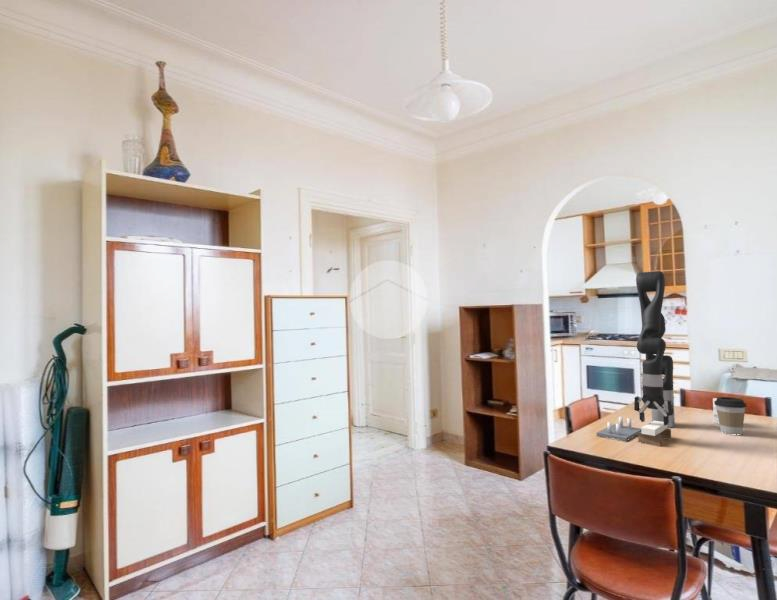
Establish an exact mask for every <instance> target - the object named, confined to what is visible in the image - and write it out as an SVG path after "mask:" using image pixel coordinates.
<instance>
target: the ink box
mask: <svg viewBox="0 0 777 600" xmlns="http://www.w3.org/2000/svg"><path fill="white" fill-rule="evenodd" d="M717 398H718V397H716V398H715V397H713V398H712V409H713V410H712V412H713V423H714V422H715V423H714V424H717V423H718V424H717V425H720V424H719V419H718V414H717V408H716V405H715V404H714V403H715V401H716V400H717Z"/></svg>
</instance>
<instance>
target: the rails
mask: <svg viewBox="0 0 777 600" xmlns="http://www.w3.org/2000/svg"><path fill="white" fill-rule="evenodd" d="M637 438H638V439H637V440H638V441H637V442H638V443H639V442H641V444H645V443H646V444H645V445H651V446H657V447H661V446H662V443H663V442H662V439H664V438H665V439H666V440H669V439H670V440H671V439H672V428H667V429H665V430H664V431H662V432H661V433H659V434H657V435H656V436H652V435H647V434H642V433H641V432H638V435H637ZM665 439H664V440H665Z"/></svg>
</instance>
